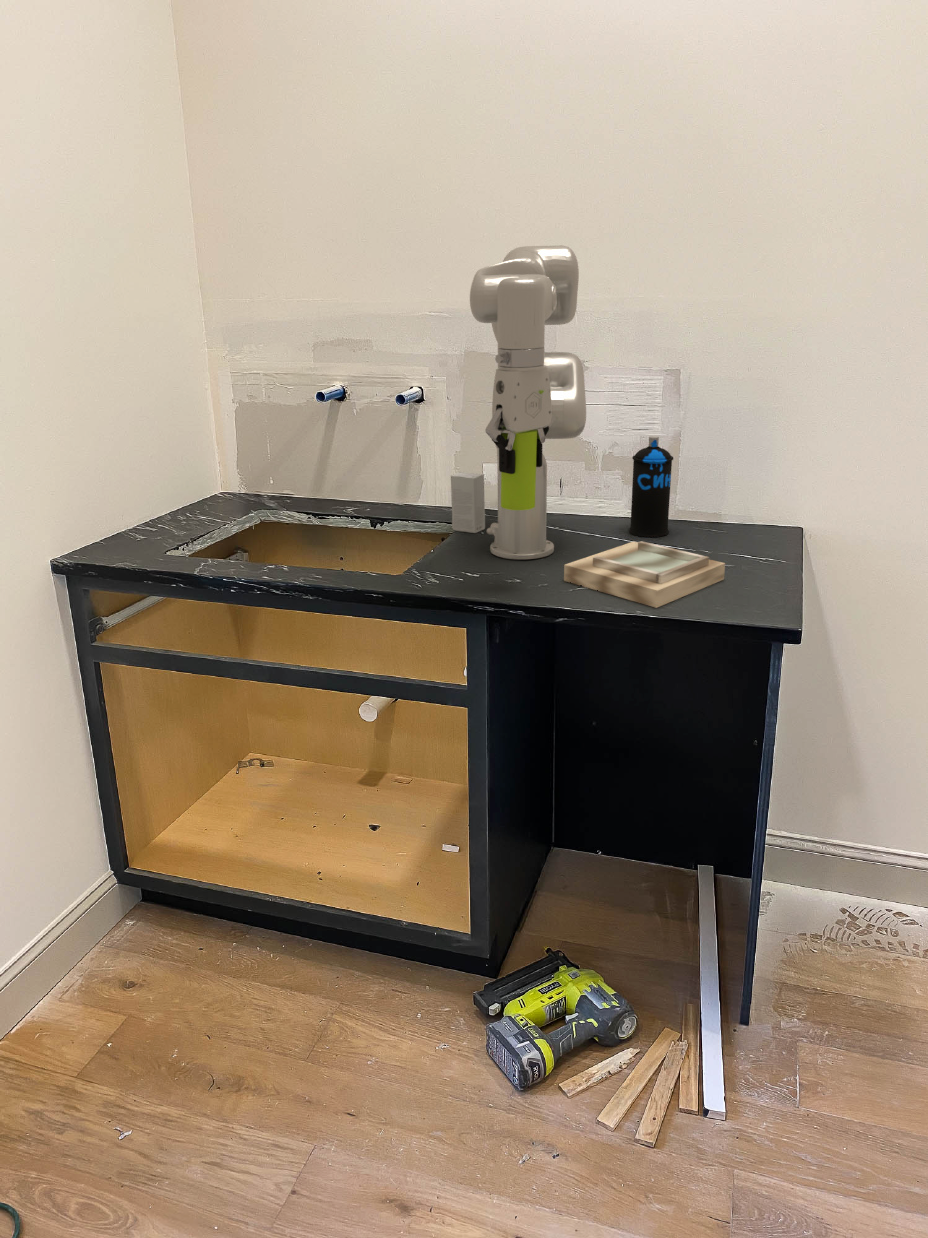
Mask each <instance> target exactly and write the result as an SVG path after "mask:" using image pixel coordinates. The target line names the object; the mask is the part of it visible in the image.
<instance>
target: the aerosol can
mask: <svg viewBox="0 0 928 1238" xmlns="http://www.w3.org/2000/svg"><path fill="white" fill-rule="evenodd" d="M659 441H660V436H658V435H650V436H648V446H646V447H644V448H641V449H640V450H638V451H637V452H636V453H635V454H634V455H632V460H633V462H632V463H633V464H632V465H633V466H632V467H633V468H632V483H631V485H632V489H631V507H630V508H631V509H630V510H631V511H630V528H629V530H628V531H629V533H630V534H631V535H632V536H636V537H641V538H659V537H660V538H661V537H665V536H667V535H668V534H669V533H670V531H669V513H670V499H671V498H670V497H671V481H672V467H673V466H672V464H673V461H674V457H673V456H672V455H671V453H670V452H669V451H668V450H666V449H665V448H661V447H660V446H659ZM664 535H665V536H664Z"/></svg>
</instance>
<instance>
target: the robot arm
mask: <svg viewBox="0 0 928 1238" xmlns="http://www.w3.org/2000/svg"><path fill="white" fill-rule="evenodd" d="M577 259H578V258H577V256H576V253H575V251H573V249H572V248H570V247H569V246H568V245H567V246H566V245H529V246H528V245H526V246H519V247H516V248H513V249H512V250H510V251H509V252H508V253H507V254H506V255H505V257H504V258H503V260H502V261H501V262H498V263H495V264H491V265H487V266H484V267H482V268H480V269H478V270H477V271H476V273H475V274H474V276H473V279H472V282H471V285H470V290H469V306H470V310H471V314H472V316H473V318H474V319H475V320H476V321H477V322H479V323H481V324H491V328H492V331H493V334H494V338H495V340H496V342H497V355H495V358H494V359H495V363H496V364H497V369H495V373H494V375H495V376H494V380H493V381H494V382H493V390H492V405H491V414H492V415H491V419H490V421H489V422H488V424H487V426H486V428H485V431H484V432H485V433H486V434H487V436H488V437H489V438H490V439H491V441H492V442H493V443H494V444H495V448H496V458H497V459H496V461H497V463H496V465H497V466H496V468H497V472H496V473H497V522H492V523H491V524H490V527H487V529H486V534H487V535H491V536H494V541H493V542H491V544H490V546H489V548H490V549H489V550H490V553H491V554H493V556H496V557H499V558H503V559H508V560H518V561H519V560H522V561H523V560H525V561H526V560H535V559H541V558H545V557H548V556H550V555H551V554H553V553H554V551H555V544H554V543H553V542H552V541H550V540H548V539H547V513H548V512H547V509H548V508H547V506H548V505H547V504H548V503H547V502H548V501H547V500H548V498H547V496H548V491H547V490H548V488H547V487H548V464H547V463H548V462H547V460H546V457H545V455H544V453H543V444H544V443H545V442H546V440H565V439H567V440H568V439H574V438H577V437H579V436H580V435H581V434H582V433H583V432H584V430H585V426H586V422H587V400H586V399H587V398H586V386H585V375H584V372H585V371H584V367H583V363H582V361H581V359H580V357H579V356H577V354H574V353H572V352H566V351H561V352H560V351H558V352H557V351H555V352H553V351H550V352H549V351H548V352H545V326H555V325H556V326H560V325H561V326H562V325H566V324H569V323H570V322H572V320H573V319H574V318H575V316H576V312H577V306H578V305H577V303H578V290H579V289H578V288H579V276H580V275H579V273H580V272H579V262H578V260H577ZM539 390H543V391H544V392H543V393H542V394H539ZM506 429H507V430H506ZM532 430H537V452H536V488H535V507H534V508H532V509H528V510H509V509H505V508H502V507H501V472H503V473H508V474H514V473H515V450H512V447H513V443H514V439H515V435H516V433H522V432H527V431H532ZM505 434H508V437H507V440H506V439H505Z"/></svg>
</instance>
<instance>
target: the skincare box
mask: <svg viewBox="0 0 928 1238" xmlns="http://www.w3.org/2000/svg"><path fill="white" fill-rule="evenodd" d="M450 490H451V491H450V493H451V495H450V496H451V522H452V523H451V525H452V526H451V527H452V529H451V530H452V531H457V532H463V533H464V532H465V533H470V534H471V533H472V534H477V533H479V532H481V531H483V530H485V529H486V512H485V511H486V508H485V507H486V506H485V503H486V502H485V475H484V474H483V473H482V474H481V473H473V472H462V471H460V472H457V473H455V474H451V475H450Z"/></svg>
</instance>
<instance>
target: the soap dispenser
mask: <svg viewBox="0 0 928 1238" xmlns="http://www.w3.org/2000/svg"><path fill="white" fill-rule="evenodd" d="M543 392H544V391H543V390H539V394H542V393H543ZM506 430H507V429H506ZM507 437H508V434H505V439H506V440H507ZM512 450H515V473H514V474H508V473H503V472H501V507H502V508H505V509H509V510H528V509H532V508H534V507H535V488H536V452H537V430H532V431H527V432H522V433H516V435H515V439H514V443H513V447H512Z"/></svg>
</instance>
